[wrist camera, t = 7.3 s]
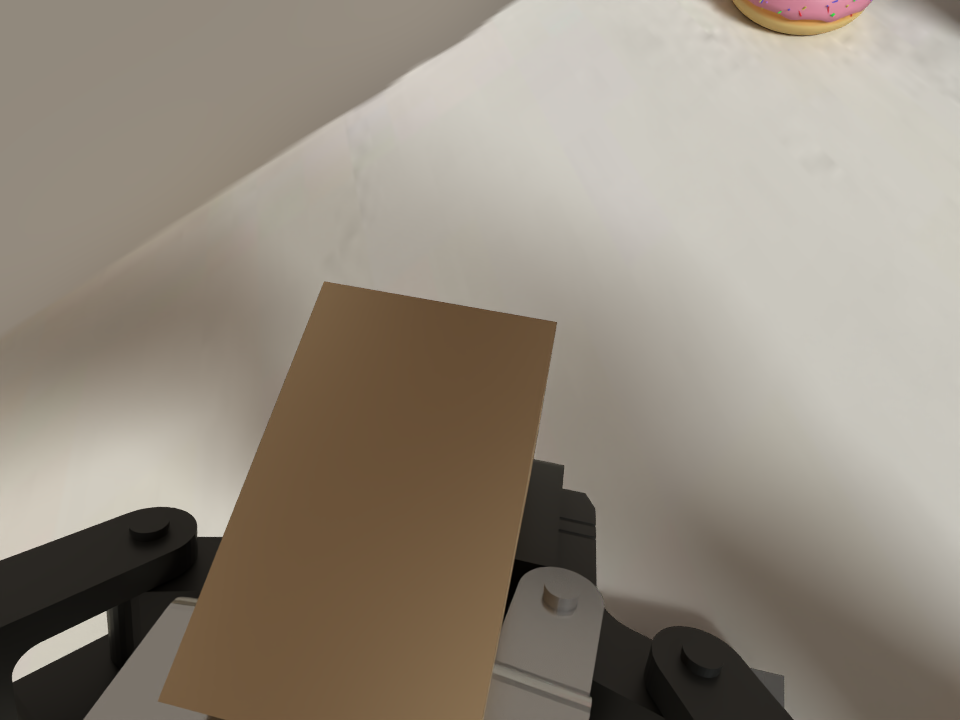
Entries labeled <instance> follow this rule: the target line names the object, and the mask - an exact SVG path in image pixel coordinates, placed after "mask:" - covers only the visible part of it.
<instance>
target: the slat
mask: <svg viewBox="0 0 960 720" xmlns="http://www.w3.org/2000/svg"><path fill="white" fill-rule="evenodd" d="M556 325H557V322H553V321H547V320H541V319H536V318H530V317H524V316H519V315H513V314H507V313H501V312H496V311H490V310H484V309H479V308H473V307H467V306H461V305H456V304H450V303H444V302H439V301H433V300H427V299H421V298H416V297H410V296H404V295H399V294H393V293H387V292H381V291H376V290H370V289H364V288H359V287H353V286H347V285H341V284H336V283H330V282H324V283H323V286H322V288H321V291H320V293H319V296H318V298H317V301H316V303H315V306H314V308H313V311H312V313H311V316H310V318H309V321H308V323H307V326H306V328H305V331H304V333H303V336H302V339H301V341H300V344H299V346H298V349H297V351H296V354H295V356H294V359H293V361H292V364H291V366H290V369H289V371H288V374H287V376H286V379H285V381H284V384H283V386H282V389H281V391H280V394H279V396H278V399H277V402H276V404H275V407H274V409H273V412H272V414H271V417H270V419H269V422H268V424H267V427H266V429H265V432H264V434H263V437H262V439H261V442H260V444H259V447H258V449H257V452H256V454H255V457H254V460H253V462H252V465H251V467H250V470H249V472H248V475H247V477H246V480H245V482H244V485H243V487H242V490H241V492H240V495H239V497H238V500H237V502H236V505H235V507H234V510H233V512H232V515H231V517H230V520H229V523H228V525H227V528H226V530H225V533H224V535H223V538H222V540H221V543H220V545H219V548H218V550H217V553H216V555H215V558H214V560H213V563H212V565H211V568H210V570H209V573H208V575H207V578H206V581H205V583H204V586H203V588H202V591H201V593H200V596H199V598H198V601H197V603H196V606H195V608H194V611H193V613H192V616H191V618H190V621H189V623H188V626H187V628H186V631H185V633H184V636H183V638H182V641H181V644H180V646H179V649H178V651H177V654H176V656H175V659H174V661H173V664H172V666H171V669H170V671H169V674H168V676H167V679H166V681H165V684H164V686H163V689H162V691H161V694H160V696H159V699H158V702H162V703H165V704H169V705H173V706H176V707H180V708H184V709H188V710H191V711H195V712H199V713H202V714H206V715H210V716H213V717H217V718H221V719H225V720H483V718H484V713H485V708H486V703H487V697H488V692H489V687H490V682H491V677H492V672H493V666H494V663H495V658H496V653H497V647H498V642H499V637H500V632H501V628H502V625H503V619H504V614H505V608H506V603H507V598H508V592H509V587H510V581H511V576H512V570H513V565H514V559H515V554H516V549H517V544H518V539H519V533H520V528H521V523H522V518H523V513H524V507H525V502H526V497H527V492H528V487H529V481H530V476H531V470H532V464H533V458H534V453H535V447H536V441H537V435H538V429H539V424H540V418H541V412H542V406H543V400H544V395H545V389H546V383H547V377H548V372H549V366H550V360H551V354H552V348H553V343H554V337H555V331H556Z"/></svg>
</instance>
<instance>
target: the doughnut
mask: <svg viewBox="0 0 960 720" xmlns="http://www.w3.org/2000/svg"><path fill="white" fill-rule="evenodd" d="M871 1H872V0H733V2H734V4H735V5H736V6H737V8H738V9H739V10H740V11H741V12H742V13H743V14H744V15H745V16H746V17H748V18H749V19H751V20H752V21H754V22H755V23H757V24H759V25H761V26H763V27H765V28H768V29H771V30H774V31H777V32H781V33H786V34H793V35H814V34H821V33H826V32H830V31H833V30H836V29H838V28H841V27H843V26H845V25H847V24H848V23H850V22H851V21H853V20H854V19H855V18H857V17H858V16H859V15H860V14H861V13H862V12H863V11H864V9H865V8H866V7H867V6H868V5H869V4H870V2H871Z"/></svg>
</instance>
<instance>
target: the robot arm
mask: <svg viewBox="0 0 960 720" xmlns="http://www.w3.org/2000/svg"><path fill="white" fill-rule="evenodd" d="M563 474H564V465H560V464H555V463H550V462H545V461H540V460H535V459H533V464H532V470H531V476H530V481H529V487H528V492H527V497H526V502H525V507H524V513H523V518H522V523H521V528H520V533H519V539H518V544H517V549H516V554H515V559H514V565H513V570H512V576H511V581H510V587H509V592H508V598H507V603H506V608H505V614H504V619H503V625H502V628H501V632H500V637H499V642H498V647H497V653H496V658H495V663H494V666H493V672H492V677H491V682H490V687H489V692H488V697H487V703H486V708H485V713H484V718H483V720H793V719H792V717H791V716H790V715H789V714H788V713H787V711H786V710H785V709H784V708H783V707H782V706H781V704H780V703H779V702H778V701H777V700H776V698H775V697H774V696H773V695H772V694H771V693H770V691H769V690H768V689H767V688H766V687H765V685H764V684H763V683H762V682H761V681H760V680H759V678H758V677H757V676H756V675H755V674H754V672H753V671H752V670H751V669H750V668H749V667H748V665H747V664H746V663H745V662H744V661H743V659H742V658H741V657H740V656H739V655H738V654H737V653H736V652H735V651H734V650H733V649H732V648H731V647H730V646H729V645H727V644H726V643H725V642H723V641H722V640H720V639H719V638H717V637H715V636H713V635H711V634H709V633H707V632H705V631H702V630H699V629H696V628H691V627H684V626H674V627H669V628H666V629H663V630H661V631H660V632H659V633H657V635H656V636H655V637H654V639H653V640H652V639H650V638H648V637H645V636H643V635H641V634H639V633H637V632H635V631H633V630H631V629H629V628H628V627H626V626H624V625H623V624H621V623H620V622H618V621H617V620H616V619H615V618H613V617H612V616H611V615H610V614H609V613H608V612H607V611H606V609H605V608H604V601H603V597H602V595H601V593H600V592H599V590H598V589H597V587H596V540H595V539H596V527H595V525H596V515H595V507H594V506H593V504H592V503H591V501H590V500H589V498H588V497H587V495H586V494H585V493H581V492H576V491H571V490H567V489H562V485H563ZM222 538H223V537H197V522H196V520H195V518H194V517H193V516H192V515H191V514H189V513H188V512H186V511H183V510H180V509H176V508H170V507H152V508H145V509H141V510H136V511H133V512H130V513H127V514H124V515H122V516H119V517H116V518H114V519H111V520H108V521H106V522H103V523H100V524H98V525H95V526H92V527H90V528H87V529H84V530H81V531H79V532H76V533H73V534H71V535H68V536H65V537H63V538H60V539H57V540H55V541H52V542H49V543H47V544H44V545H41V546H38V547H36V548H33V549H30V550H28V551H25V552H22V553H20V554H17V555H14V556H12V557H9V558H6V559H4V560H1V561H0V720H225V719H221V718H217V717H213V716H210V715H206V714H202V713H199V712H195V711H191V710H188V709H184V708H180V707H176V706H173V705H169V704H165V703H162V702H158V699H159V696H160V694H161V691H162V689H163V686H164V684H165V681H166V679H167V676H168V674H169V671H170V669H171V666H172V664H173V661H174V659H175V656H176V654H177V651H178V649H179V646H180V644H181V641H182V638H183V636H184V633H185V631H186V628H187V626H188V623H189V621H190V618H191V616H192V613H193V611H194V608H195V606H196V603H197V601H198V598H199V596H200V593H201V591H202V588H203V586H204V583H205V581H206V578H207V575H208V573H209V570H210V568H211V565H212V563H213V560H214V558H215V555H216V553H217V550H218V548H219V545H220V543H221V540H222ZM105 611H107V622H108V634H107V635H105V636H103V637H101V638H99V639H97V640H95V641H93V642H91V643H89V644H87V645H85V646H83V647H82V648H80V649H78V650H76V651H74V652H72V653H70V654H68V655H66V656H64V657H62V658H60V659H58V660H56V661H54V662H52V663H50V664H48V665H46V666H44V667H42V668H40V669H38V670H36V671H34V672H32V673H30V674H28V675H27V676H25V677H23V678H21V679H19V680H17V681H15V682H13V683H12V672H13V669H14V667H15V665H16V663H17V662H18V660H19V659H20V658H21V657H22V656H23V655H24V654H25V653H26V652H27V651H28V650H29V649H31V648H32V647H33V646H35V645H37V644H38V643H40V642H42V641H44V640H46V639H49V638H51V637H53V636H55V635H57V634H59V633H61V632H63V631H65V630H67V629H69V628H71V627H74V626H76V625H78V624H80V623H82V622H84V621H86V620H88V619H90V618H92V617H94V616H96V615H99V614H101V613H103V612H105Z"/></svg>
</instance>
